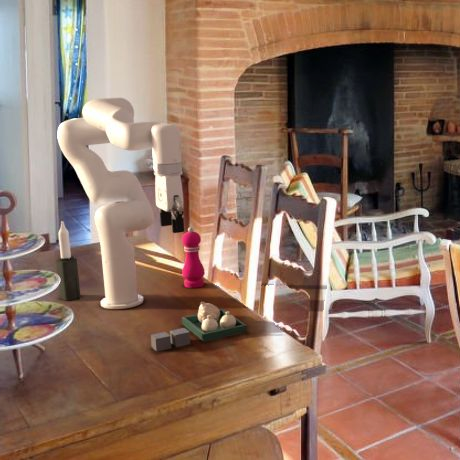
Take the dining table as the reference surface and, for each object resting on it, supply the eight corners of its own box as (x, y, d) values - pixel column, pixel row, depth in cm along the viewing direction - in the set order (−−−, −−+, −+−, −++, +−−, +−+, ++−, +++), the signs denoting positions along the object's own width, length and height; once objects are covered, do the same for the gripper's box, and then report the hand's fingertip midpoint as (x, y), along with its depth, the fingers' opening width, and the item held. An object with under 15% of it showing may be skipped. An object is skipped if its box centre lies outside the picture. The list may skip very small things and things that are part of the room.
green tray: (182, 325, 230) (181, 317, 229) (223, 317, 237) (223, 308, 237) (203, 343, 217) (203, 334, 216) (247, 333, 224) (246, 324, 224)
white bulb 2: (218, 328, 226) (217, 311, 225) (232, 325, 228) (231, 308, 227) (224, 333, 223) (223, 315, 221) (239, 330, 225) (238, 312, 224)
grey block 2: (170, 344, 216) (169, 330, 215) (185, 341, 218) (184, 327, 217) (176, 349, 213) (175, 335, 212) (190, 345, 215) (189, 331, 214)
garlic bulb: (193, 323, 230) (192, 297, 228) (213, 318, 234) (212, 292, 232) (204, 329, 225) (203, 302, 223) (225, 324, 229) (223, 298, 228)
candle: (72, 294, 258) (65, 218, 252) (82, 297, 255) (74, 220, 249) (58, 298, 254) (50, 221, 248) (67, 301, 251) (59, 223, 245)
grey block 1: (151, 348, 213) (150, 334, 212) (166, 345, 215) (165, 331, 214) (156, 353, 210) (155, 339, 209) (171, 350, 212) (170, 336, 211)
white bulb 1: (199, 332, 223) (198, 315, 222) (214, 329, 225) (213, 311, 224) (205, 337, 219) (204, 319, 218) (220, 334, 222) (219, 316, 221)
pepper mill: (199, 289, 263) (195, 230, 258) (179, 287, 265) (175, 229, 260) (209, 282, 270) (205, 225, 265) (189, 281, 271) (185, 224, 267)
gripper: (144, 166, 226) (149, 225, 230) (165, 174, 212) (169, 237, 216) (170, 163, 230) (174, 221, 234) (192, 171, 216) (196, 233, 220)
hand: (172, 229), depth 225 cm, fingers open, 9 cm apart
